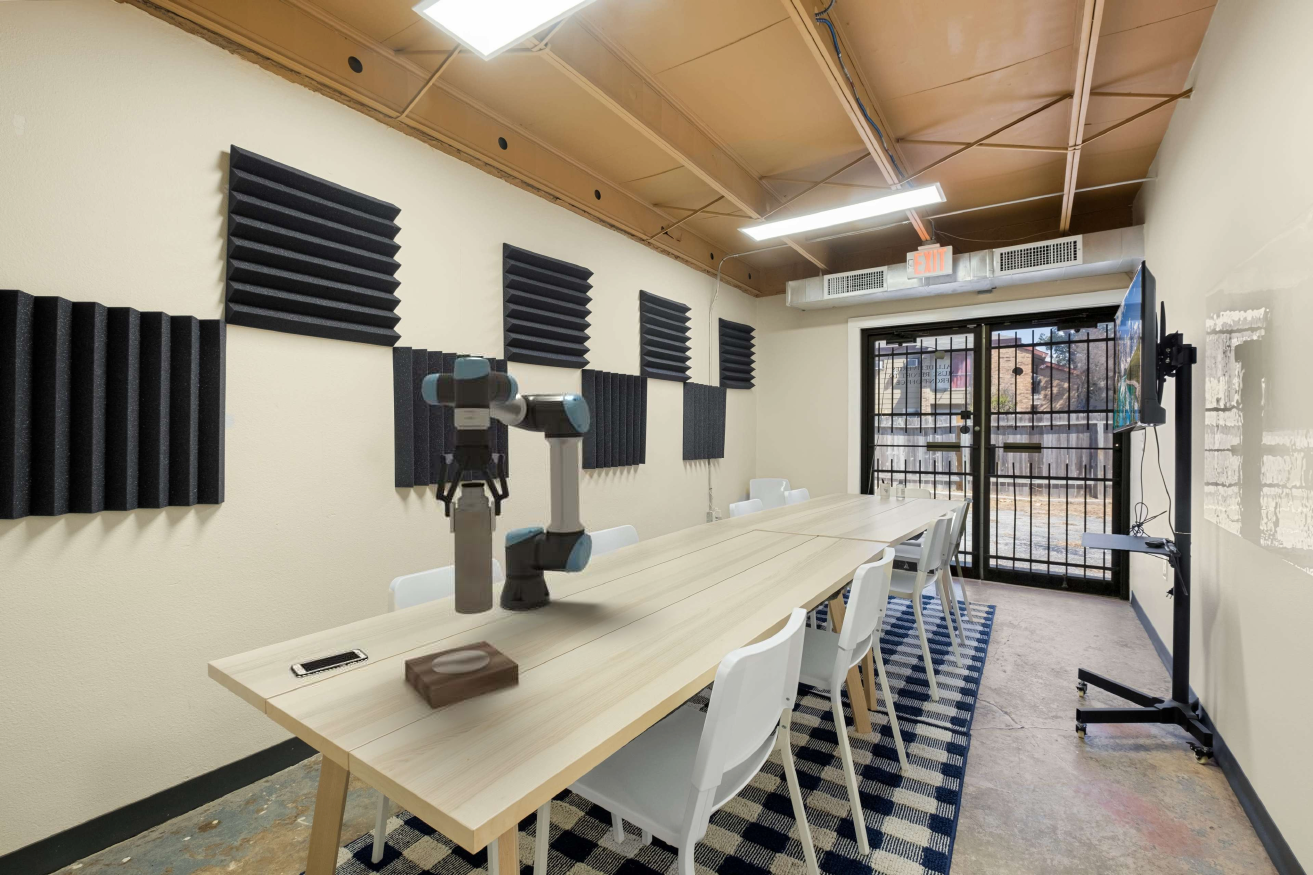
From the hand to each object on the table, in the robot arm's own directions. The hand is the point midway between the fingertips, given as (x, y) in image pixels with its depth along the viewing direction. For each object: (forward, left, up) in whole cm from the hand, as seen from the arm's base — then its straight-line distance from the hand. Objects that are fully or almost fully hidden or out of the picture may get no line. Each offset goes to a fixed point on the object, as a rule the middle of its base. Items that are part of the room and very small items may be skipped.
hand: (473, 531), depth 128 cm
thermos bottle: (0, 0, -17) cm, 17 cm away
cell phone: (-27, -24, -32) cm, 49 cm away
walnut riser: (+2, -4, -32) cm, 32 cm away
